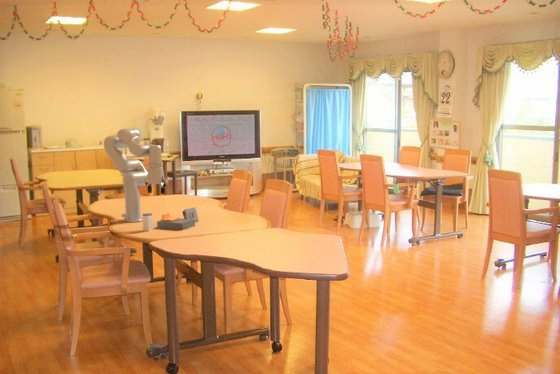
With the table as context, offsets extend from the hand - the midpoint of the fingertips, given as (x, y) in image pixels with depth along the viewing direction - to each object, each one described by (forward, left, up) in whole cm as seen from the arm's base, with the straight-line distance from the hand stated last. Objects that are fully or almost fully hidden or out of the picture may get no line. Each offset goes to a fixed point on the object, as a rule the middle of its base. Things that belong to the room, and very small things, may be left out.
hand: (156, 193), depth 374 cm
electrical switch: (+14, +16, -20) cm, 29 cm away
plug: (+4, -15, -20) cm, 25 cm away
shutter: (+10, 0, -16) cm, 19 cm away
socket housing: (+14, 0, -20) cm, 24 cm away
